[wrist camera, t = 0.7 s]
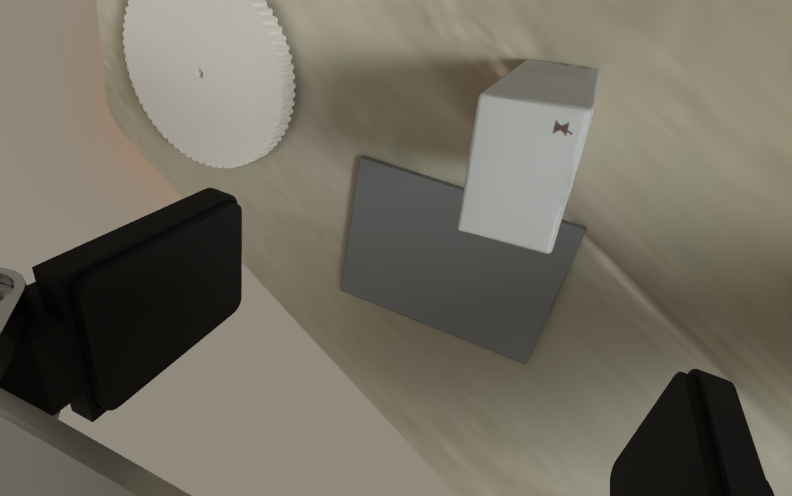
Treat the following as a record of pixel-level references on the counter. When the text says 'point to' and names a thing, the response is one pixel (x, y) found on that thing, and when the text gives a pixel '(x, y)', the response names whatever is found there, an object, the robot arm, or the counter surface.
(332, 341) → the counter surface
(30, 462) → the robot arm
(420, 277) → the mat
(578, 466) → the counter surface
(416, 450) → the counter surface
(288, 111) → the plastic lid
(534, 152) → the skincare box
